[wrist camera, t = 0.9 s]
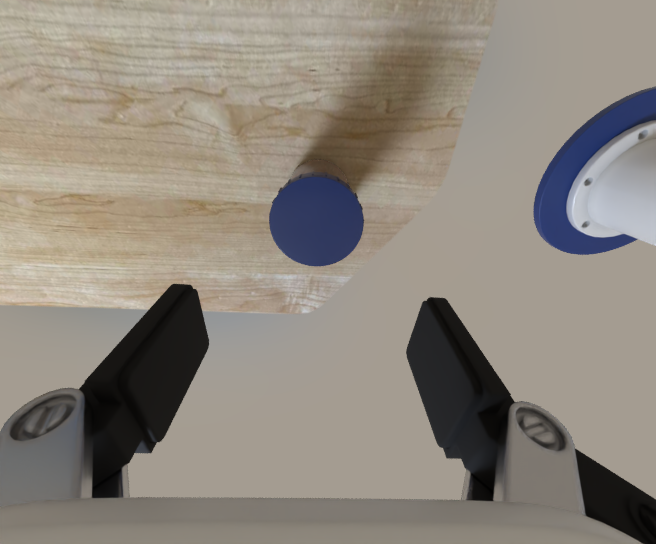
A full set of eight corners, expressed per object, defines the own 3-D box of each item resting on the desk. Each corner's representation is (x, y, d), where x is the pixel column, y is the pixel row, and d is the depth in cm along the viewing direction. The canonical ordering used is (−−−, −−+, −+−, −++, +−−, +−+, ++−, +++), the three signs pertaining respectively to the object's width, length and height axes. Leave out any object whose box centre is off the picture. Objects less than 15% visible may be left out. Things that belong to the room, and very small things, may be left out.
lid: (368, 174, 18) (371, 179, 17) (355, 259, 22) (357, 269, 21) (270, 167, 18) (266, 171, 17) (273, 254, 22) (270, 264, 20)
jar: (352, 161, 26) (365, 182, 18) (345, 222, 29) (353, 263, 21) (288, 156, 25) (272, 175, 17) (288, 218, 29) (275, 258, 20)
